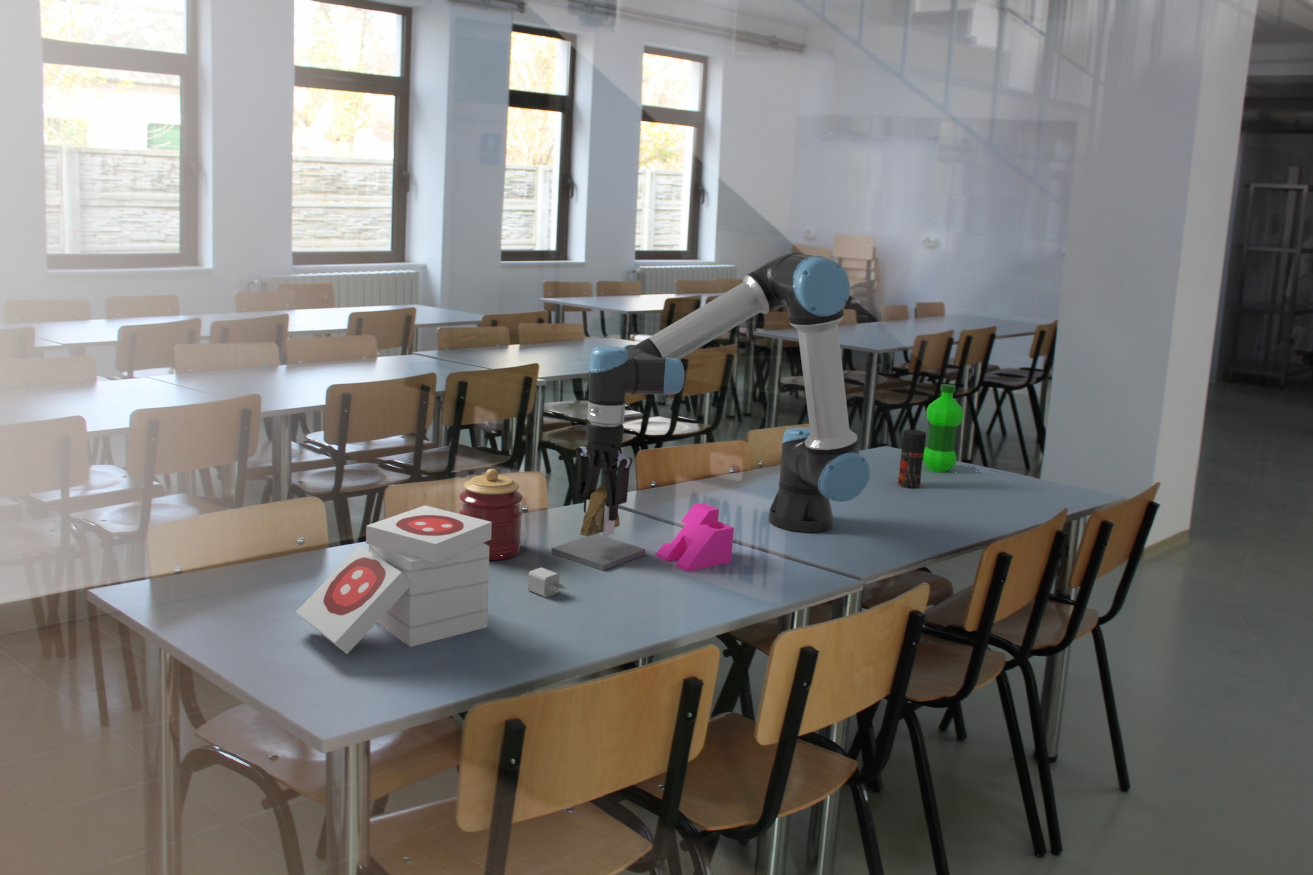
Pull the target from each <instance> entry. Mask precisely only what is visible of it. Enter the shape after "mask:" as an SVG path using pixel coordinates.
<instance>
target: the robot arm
mask: <svg viewBox="0 0 1313 875" xmlns="http://www.w3.org/2000/svg"><path fill="white" fill-rule="evenodd" d="M850 293H851V284H850V279H849V276H848V274H847V272H846V271H845V268H843V266H841V265H840V264H839V263H838V262H836V261H834V260H832V259H830V258H828V257H825V256H822V255H810V254H805V253H801V252H789V253H785V254H783V255H780V256H778V257H775V258H774V259H772V260H770V261H769V262H766V263H764V264H763V265H762V266H759V267H758V268H756V269H754V270H753V271H751V272H750V273H748V274H746V275H744V276H743V280H742V283H740V284H737V285H736V286H734V287H733V288H732V289H729V290H728V291H726V292H724V293H723V294H721V295H720V296H719V295H718V297H716V298H714V299H712V300H711V301H709V302H707V303H705V304H704V305H702V306H700V307H699V308H697V309H695V310H694V311H692V312H690V313H688V314H687V315H685V316H683V317H682V318H680V319H678V320H677V321H674V322H673V323H671V324H670V325H667V326H666V327H664V328H663V329H660V330H659V331H657V332H656V333H654V334H653V335H651V336H649V337H647V338H645V339H644V340H642V341H640V342H638V343H636V344H625V345H623V346H621V347H620V346H612V345H601V346H596V347H594V348H593V349H592V350H591V353H590V363H589V367H588V371H589V378H588V382H589V384H588V402H587V418H586V419H587V421H589V422H588V423H587V424H586V441H587V443H586V444H585V446H579V447H576V448H575V449H574V450H575V454H576V458H577V461H576V462H577V463H576V464H577V465H576V489H575V490H576V494H577V495H581V496H582V497H583V513H584V514H585V513H586V512H587V510H588V506H589V503H590V499H591V493H593V492H594V491H595V490H596V489H597V486H598V482H599V478H600V474H601V470H602V472H603V473H602V474H604V478H605V479H604V481H605V484H606V490H607V499H608V503H607V504H606V505H605V509H604V527H603V532H602V536H605V537H608V536H611V535H613V534H615V528H614V526H615V520H617V518H618V515H619V505H622V504H626V503H627V502H628V490H629V479H630V469H631V466H632V463H633V460H634V459H633V458H632V457H627V456H626V455H625V454H623V450H622V447H621V446H622V444H623V440H624V427H625V426H624V425H623V423H624V422H625V410H626V408H625V407H626V395H663V396H667V395H675V394H678V393H680V392H681V391H682V389H683V388H684V383H685V368H684V365H683V362H682V361H681V359H682V358H684V357H686V356H688V355H690V354H691V353H693V352H695V351H696V350H697V349H699V348H702V347H703V346H704V345H707V344H708V343H710V342H712V341H713V340H715V339H717V338H718V337H720V336H722V335H724V334H725V333H727V332H729V331H730V330H732V329H734V328H735V327H738V326H739V325H741V324H742V323H744V322H746V321H747V320H749V319H751V318H753V317H754V316H756V315H757V314H764V315H766V314H769V313H770V312H772V311H773V310H776V309H778V308H783V307H787V315H788V321H789V322H788V323H789V325H791V326H792V327H793V328H794V329H796V331H797V335H798V336H797V337H798V345H799V352H800V360H801V368H802V369H801V370H802V378H803V385H804V393H805V401H806V409H807V415H808V422H809V423H808V425H809V426H807V427H805V426H801V427H800V426H799V427H790V428H787V429H785V431H784V433H783V437H782V441H781V458H780V466H779V467H780V469H779V470H780V471H779V481H778V490H777V492H776V494H775V496H774V498H773V501H772V504H771V505H770V508H769V512H768V522H769V523H770V524H772V525H774V526H775V527H778V528H780V529H784V530H787V531H794V532H802V533H819V532H825V531H828V530H830V529H831V528H832V527H833V522H834V515H833V510H832V505H831V501H833V502H837V503H838V502H839V503H842V502H843V503H844V502H848V501H851V500H853V499H855V498H857V497H858V496H859V495H861V493H862V491H863V490H864V489H865V488H866V487H867V485H868V483H869V480H870V477H871V467H870V465H869V463H868V461H867V459H866V457H864V455H862V454H860V449H859V448H860V447H859V440H858V435H857V433H855V432H854V431H852V430H851V429H850V424H849V423H850V422H849V421H850V420H849V413H848V405H847V404H848V403H847V396H846V387H845V378H844V371H843V370H844V369H843V361H842V360H843V358H842V352H841V344H840V343H841V342H840V333H839V324H840V322H841V321H842V320H843V319H844V317H845V315H844V314H845V313H844V307H845V306H846V302H847V301H848V300H849V297H850ZM830 500H831V501H830Z"/></svg>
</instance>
